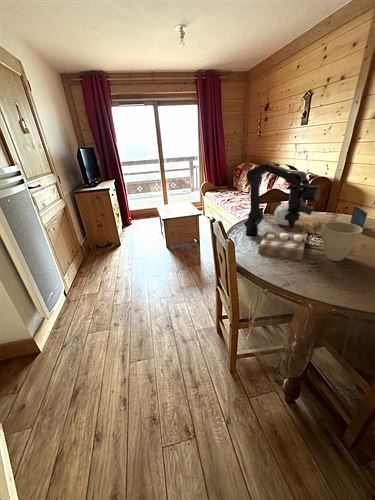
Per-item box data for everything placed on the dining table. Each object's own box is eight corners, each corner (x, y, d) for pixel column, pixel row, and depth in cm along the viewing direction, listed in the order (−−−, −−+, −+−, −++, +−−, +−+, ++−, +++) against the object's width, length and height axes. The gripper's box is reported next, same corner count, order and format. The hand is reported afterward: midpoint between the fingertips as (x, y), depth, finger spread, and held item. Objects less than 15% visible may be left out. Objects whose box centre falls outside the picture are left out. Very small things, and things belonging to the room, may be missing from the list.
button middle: (278, 241, 118) (279, 235, 117) (279, 238, 122) (280, 232, 120) (287, 242, 116) (288, 236, 115) (288, 239, 120) (289, 233, 118)
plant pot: (338, 268, 96) (347, 235, 89) (309, 255, 109) (315, 225, 101) (360, 259, 101) (370, 228, 94) (330, 248, 113) (337, 219, 106)
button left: (265, 242, 122) (265, 236, 121) (266, 239, 126) (267, 233, 124) (273, 243, 120) (274, 237, 119) (274, 240, 124) (275, 234, 122)
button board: (258, 253, 115) (258, 244, 112) (266, 237, 131) (267, 230, 129) (302, 260, 105) (303, 251, 103) (304, 242, 122) (306, 234, 120)
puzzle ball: (271, 226, 146) (273, 205, 139) (275, 220, 157) (278, 199, 151) (295, 229, 139) (299, 207, 132) (298, 222, 150) (302, 201, 143)
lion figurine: (324, 235, 128) (327, 221, 124) (320, 238, 125) (323, 223, 121) (300, 229, 139) (303, 215, 135) (296, 231, 136) (298, 217, 132)
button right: (292, 243, 115) (293, 237, 114) (293, 240, 119) (294, 234, 117) (301, 244, 113) (302, 238, 112) (302, 241, 117) (303, 235, 115)
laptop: (328, 223, 144) (333, 204, 139) (350, 224, 141) (355, 204, 135) (336, 233, 129) (341, 212, 123) (361, 234, 125) (368, 213, 120)
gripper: (312, 204, 96) (307, 236, 103) (314, 195, 111) (310, 223, 117) (285, 203, 102) (282, 233, 108) (290, 194, 116) (287, 222, 123)
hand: (291, 228), depth 114 cm, fingers closed
